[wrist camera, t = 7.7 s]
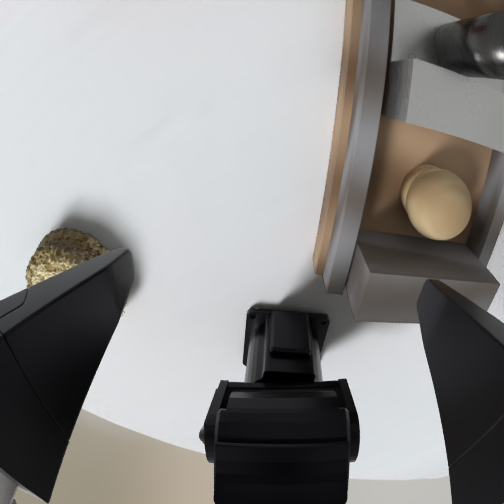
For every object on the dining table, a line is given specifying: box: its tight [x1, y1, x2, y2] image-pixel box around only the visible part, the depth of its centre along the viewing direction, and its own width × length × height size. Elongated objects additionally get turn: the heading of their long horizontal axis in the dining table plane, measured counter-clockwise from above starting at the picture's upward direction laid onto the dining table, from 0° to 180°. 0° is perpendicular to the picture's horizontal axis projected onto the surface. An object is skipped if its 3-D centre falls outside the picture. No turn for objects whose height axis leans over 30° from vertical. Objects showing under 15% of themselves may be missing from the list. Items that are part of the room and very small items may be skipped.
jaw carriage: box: [381, 0, 504, 153], centre depth 10 cm, size 7×8×7 cm
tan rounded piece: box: [399, 164, 472, 240], centre depth 16 cm, size 4×4×4 cm
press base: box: [313, 0, 504, 323], centre depth 13 cm, size 24×12×7 cm, turn 176°
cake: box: [26, 228, 128, 317], centre depth 23 cm, size 10×10×5 cm
